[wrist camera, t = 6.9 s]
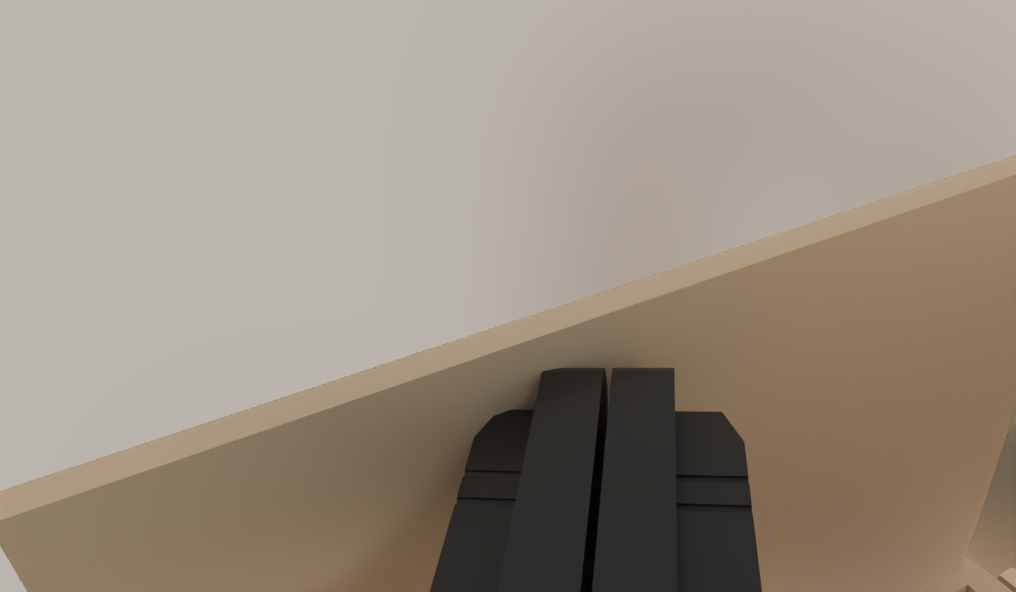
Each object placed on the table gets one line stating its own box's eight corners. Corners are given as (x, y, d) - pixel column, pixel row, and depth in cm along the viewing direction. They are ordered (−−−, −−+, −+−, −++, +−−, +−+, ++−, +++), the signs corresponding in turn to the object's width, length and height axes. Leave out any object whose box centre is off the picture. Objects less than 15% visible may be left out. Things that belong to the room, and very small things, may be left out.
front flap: (961, 569, 18) (945, 555, 18) (1106, 143, 12) (1080, 133, 13) (235, 945, 13) (230, 918, 14) (-13, 524, 8) (-12, 495, 8)
